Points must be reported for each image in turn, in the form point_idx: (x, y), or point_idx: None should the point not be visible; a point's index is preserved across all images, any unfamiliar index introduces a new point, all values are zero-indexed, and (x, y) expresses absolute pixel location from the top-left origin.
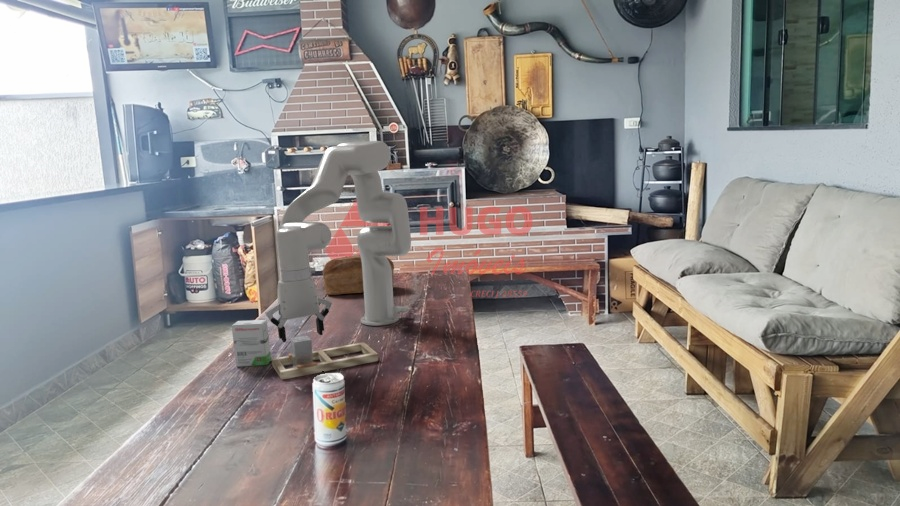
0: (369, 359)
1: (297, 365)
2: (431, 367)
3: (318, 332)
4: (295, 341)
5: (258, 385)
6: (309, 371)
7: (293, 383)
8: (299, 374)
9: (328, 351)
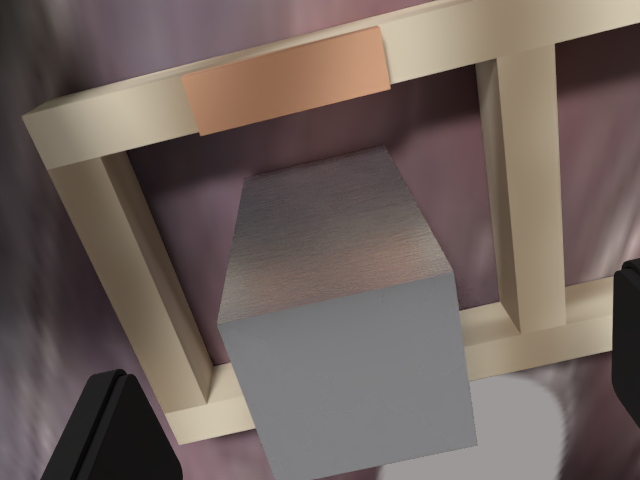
0: None
1: None
2: None
3: (622, 346)
4: (292, 455)
5: (52, 448)
6: None
7: (269, 466)
8: None
9: (604, 28)
